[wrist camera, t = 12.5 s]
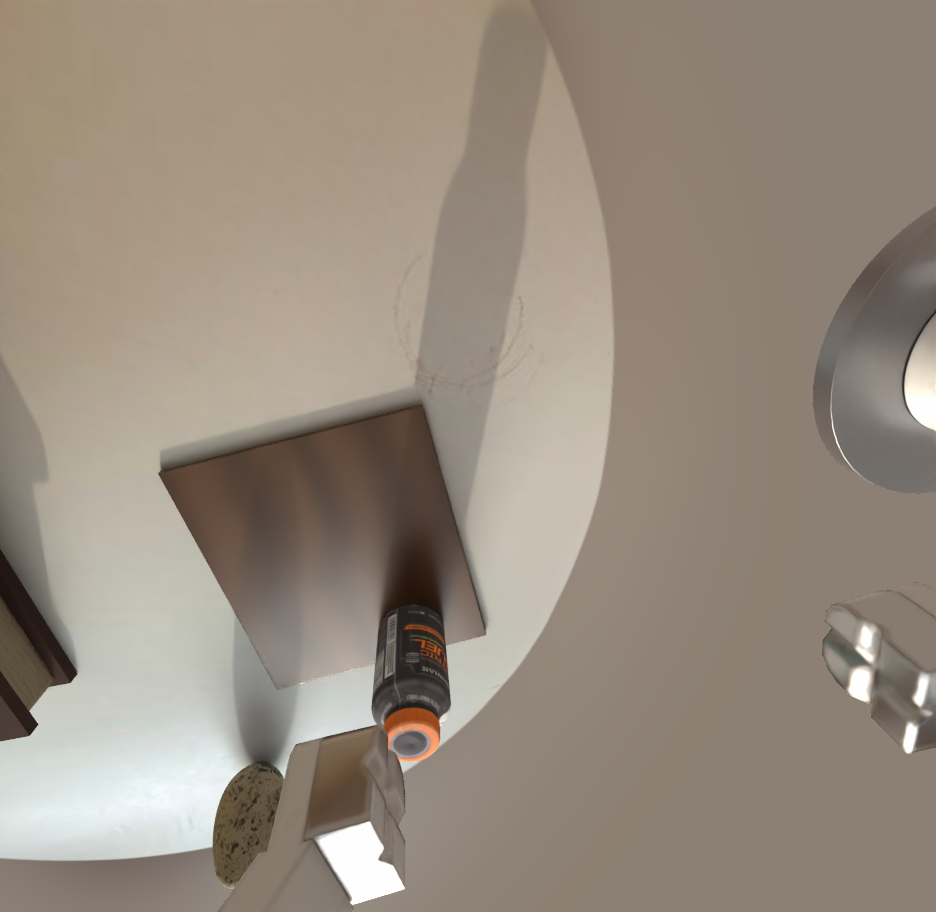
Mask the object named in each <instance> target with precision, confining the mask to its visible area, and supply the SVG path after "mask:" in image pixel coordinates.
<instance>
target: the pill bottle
mask: <svg viewBox="0 0 936 912" xmlns="http://www.w3.org/2000/svg"><path fill="white" fill-rule="evenodd" d="M450 706H451V700H450V689H449V679H448V667H447V655H446V643H445V630H444V624H443V622H442V619H441V618H440V616H439V615H438V614H437V613H436V612H435V611H434V610H432V609H430V608H428V607H425V606H421V605H404V606H400V607H397V608H395V609H393V610H392V611H390V612H389V613H388V614H387V615H386V616H385V617H384V618H383V619H382V621H381V622H380V625H379V629H378V637H377V649H376V662H375V673H374V685H373V698H372V714H373V718H374V720H375V722H376V724H377V725H378V724H383V726H384V728H385V730H386V732H387V734H388V749H389V750H391V751H393V752H395V753H396V755H397V757H398V759H399V761H404V762H414V761H419V760H422V759H425V758H427V757H429V756H430V755H431V754H433V753H434V752H435V751H436V749H437V748H438V746H439V743H440V726H441V725H442V724H443V723H444V722H445V720H446V719H447V717H448V714H449V711H450Z"/></svg>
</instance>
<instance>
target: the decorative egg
mask: <svg viewBox="0 0 936 912" xmlns="http://www.w3.org/2000/svg"><path fill="white" fill-rule="evenodd" d="M283 783H284V778H283V776H282V774H281V773H280V771H279V770H278V769H277V768H276V767H274V766H273V765H271V764H268V763H255V764H252V765H250V766H248V767H246V768H244V769H243V770H241V771H240V772H239V773H238V774H237V775H236V776H235V777H234V778H233V779H232V780H231V781H230V783H229V784H228V786H227V787H226V789H225V791H224V793H223V795H222V797H221V800H220V803H219V806H218V809H217V813H216V818H215V824H214V832H213V861H214V868H215V872H216V875H217V877H218V880H219V881H220V883H221V884H222V885H223V886H225V887H227V888H234V887H235V886H236V885H237V883H238V882H239V880H240V879H241V878H242V876H243V875H244V873H245V872H246V870H247V869H248V868H249V866H250V865H251V863H252V862H253V861H254V859H255V858H256V856H257V855H258V854H259V853H263V852H266V851H268V847H269V842H270V838H271V834H272V830H273V825H274V821H275V817H276V813H277V808H278V804H279V800H280V795H281V791H282V787H283Z"/></svg>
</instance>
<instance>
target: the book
mask: <svg viewBox="0 0 936 912" xmlns="http://www.w3.org/2000/svg"><path fill="white" fill-rule="evenodd" d="M76 675H77V672H76V671H75V669H74V667H73V666H72V664H71V663H70V661H69V659H68V658H67V656H66V655H65V653H64V651H63V650H62V648H61V647H60V645H59V643H58V642H57V640H56V639H55V637H54V635H53V634H52V632H51V631H50V629H49V627H48V626H47V624H46V623H45V621H44V619H43V618H42V616H41V614H40V613H39V611H38V610H37V608H36V606H35V605H34V603H33V602H32V600H31V598H30V597H29V595H28V594H27V592H26V590H25V589H24V587H23V586H22V584H21V582H20V581H19V579H18V578H17V576H16V574H15V573H14V571H13V570H12V568H11V566H10V565H9V563H8V562H7V560H6V558H5V557H4V555H3V553H2V552H1V550H0V741H5V740H10V739H15V738H21V737H26V736H30V735H31V733H32V732H33V731H34V729H35V728H36V727H37V726H38V723H37V722H36V720H35V719H34V718H33V716H32V715H31V713H30V712H29V710H30V709H31V708H32V707H33V705H34V704H35V703H36V702H37V701H38V699H39V698H40V697H41V696H42V694H43V693H44V692H45V691H46V689H47V688H48V687H50V686H56V685H61V684H67V683H71V681H72V680H73V679H74V678H75V676H76Z"/></svg>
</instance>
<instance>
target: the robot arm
mask: <svg viewBox="0 0 936 912" xmlns="http://www.w3.org/2000/svg"><path fill="white" fill-rule="evenodd" d="M904 392H905V398H906V402H907V406H908V408H909V410H910V412H911V414H912V415H913V417H914V418H915V419H916V420H917V421H918V422H919V423H921V424H922V425H924V426H925V427H927V428H930V429H932V430H935V431H936V313H935V314H934V316H933V317H932V318H931V319H930V321H929V322H928V324H927V325H926V326H925V328H924V329H923V331H922V333H921V334H920V336H919V338H918V340H917V342H916V344H915V346H914V348H913V350H912V353H911V355H910V358H909V361H908V364H907V368H906V373H905V382H904ZM825 622H826V623H827V624H828V625H829V626H830V627H831V628H832V629H831V630H830V631H829V633H828V634H827V635H826V636H825V638H824V639H823V647H822V655H823V657H824V660H825V662H826V665H827V668H828V670H829V671H830V673H831V674H832V676H833V677H834V679H835V680H836V682H837V683H838V684H839V685H840V686H841V687H842V688H843V689H844V690H845V691H846V692H847V693H848V694H849V695H851V696H854V697H856V698H858V699H860V700H862V701H865V702H867V703H869V708H870V713H871V718H872V719H873V720H875V721H876V722H877V724H878V725H879V726H880V727H881V728H882V729H883V730H884V731H885V732H886V733H887V734H888V735H889V736H890V737H891V738H892V739H893V740H894V741H895V742H896V743H897V744H898V745H899V746H900V747H901V748H902V749H903V750H904V751H905V752H906V753H907V754H910V753H914V752H918V751H923V750H927V749H931V748H936V591H935V590H934V589H932V588H931V587H929V586H927V585H924V584H920V583H918V582H914V583H910V584H907V585H903V586H899V587H895V588H892V589H888V590H885V591H877V592H874V593H871V594H867V595H863V596H860V597H856V598H853V599H849V600H845V601H842V602H839V603H835V604H831V605H830V606H829V608H828V609H827V610H826V615H825ZM404 813H405V789H404V780H403V773H402V769H401V766H400V762H399V759H398V757H397V755H396V753H395V752H393V751H391V750H389V749H388V734H387V732H386V730H385V728H384V726H383V724H378V725H374V726H370V727H366V728H361V729H357V730H353V731H348V732H344V733H340V734H335V735H331V736H327V737H323V738H319V739H315V740H311V741H307V742H303V743H299V744H296V745H295V747H294V749H293V751H292V752H291V754H290V757H289V761H288V766H287V770H286V774H285V778H284V783H283V787H282V791H281V795H280V800H279V804H278V808H277V813H276V817H275V821H274V825H273V830H272V834H271V838H270V842H269V847H268V851H266V852H263V853H259V854H258V855H257V856H256V858H255V859H254V861H253V862H252V863H251V865H250V866H249V868H248V869H247V870H246V872H245V873H244V875H243V876H242V878H241V879H240V880H239V882H238V883H237V885H236V886H235V887H234V889H233V890H232V892H231V893H230V895H229V896H228V897H227V899H226V900H225V901H224V903H223V904H222V906H221V907H220V909H219V910H218V911H217V912H352V911H353V906H352V904H355V903H359V902H362V901H365V900H369V899H372V898H375V897H378V896H382V895H385V894H388V893H392V892H395V891H398V890H402V889H405V840H404V838H403V835H402V833H401V831H400V829H399V827H398V824H399V822H400V821H401V819H402V817H403V815H404Z"/></svg>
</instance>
